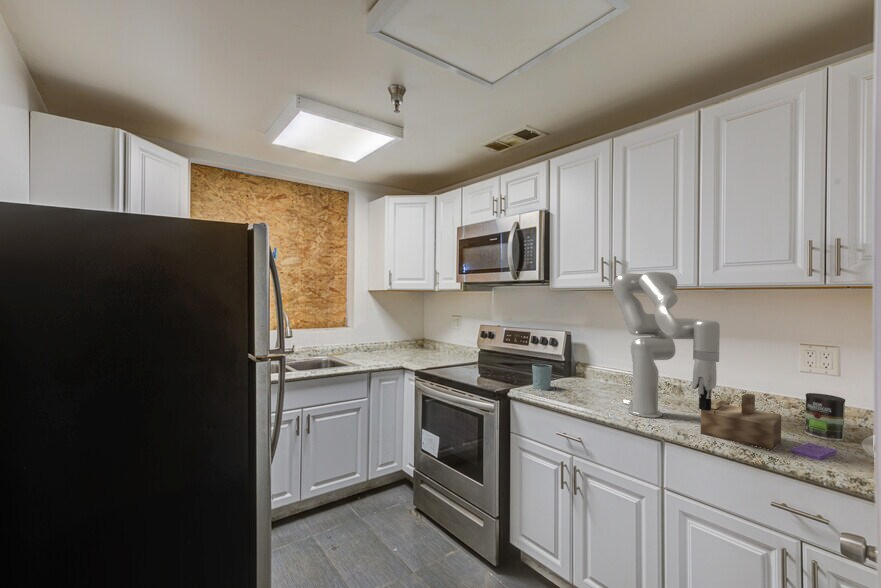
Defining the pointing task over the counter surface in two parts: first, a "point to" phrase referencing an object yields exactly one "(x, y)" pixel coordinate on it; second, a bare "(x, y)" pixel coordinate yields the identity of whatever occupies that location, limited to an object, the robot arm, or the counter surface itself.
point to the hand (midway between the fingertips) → (704, 409)
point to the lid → (748, 412)
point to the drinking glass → (541, 376)
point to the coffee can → (825, 416)
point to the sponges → (814, 451)
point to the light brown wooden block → (716, 403)
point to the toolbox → (740, 429)
